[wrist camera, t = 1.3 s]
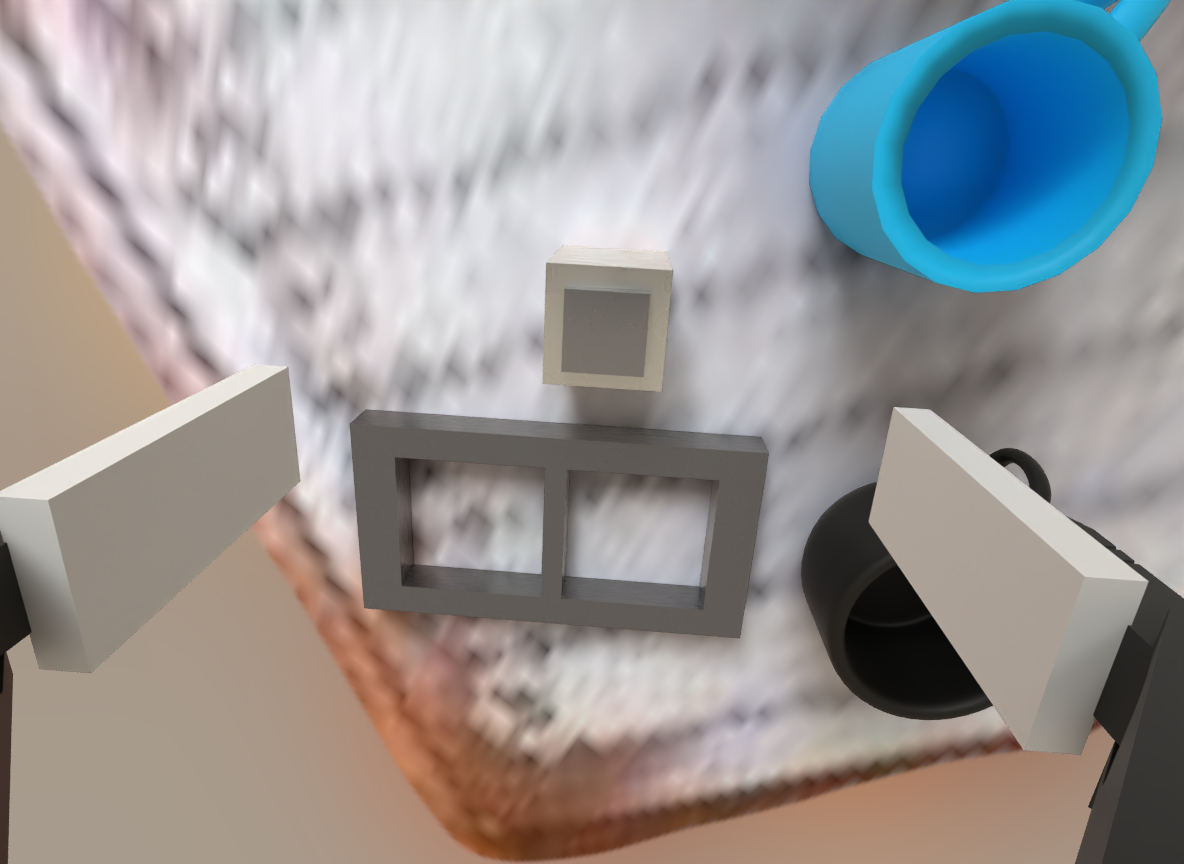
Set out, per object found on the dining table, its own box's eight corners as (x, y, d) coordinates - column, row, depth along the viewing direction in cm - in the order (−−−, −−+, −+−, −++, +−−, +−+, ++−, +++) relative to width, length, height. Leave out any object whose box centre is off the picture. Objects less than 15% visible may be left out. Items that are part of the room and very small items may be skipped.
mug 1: (899, 300, 30) (989, 344, 22) (766, 170, 29) (814, 171, 21) (1145, 64, 26) (1351, 21, 19) (1007, -100, 25) (1172, -218, 17)
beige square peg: (562, 245, 30) (543, 265, 24) (665, 251, 30) (674, 273, 24) (559, 346, 32) (540, 390, 25) (656, 352, 32) (662, 398, 25)
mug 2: (899, 648, 36) (958, 755, 30) (756, 571, 35) (784, 664, 29) (1063, 470, 32) (1173, 548, 26) (907, 376, 31) (981, 432, 25)
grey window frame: (365, 409, 33) (349, 423, 31) (761, 437, 33) (768, 453, 31) (377, 586, 37) (364, 608, 35) (734, 614, 36) (739, 638, 34)
